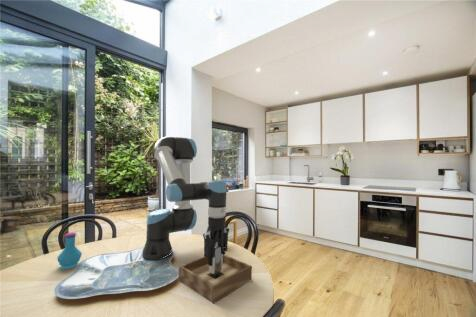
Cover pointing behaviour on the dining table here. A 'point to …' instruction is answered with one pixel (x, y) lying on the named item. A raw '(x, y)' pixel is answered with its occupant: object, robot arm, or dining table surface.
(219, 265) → the peg
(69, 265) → the perfume bottle
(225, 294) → the box
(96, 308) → the dining table surface
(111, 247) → the dining table surface
